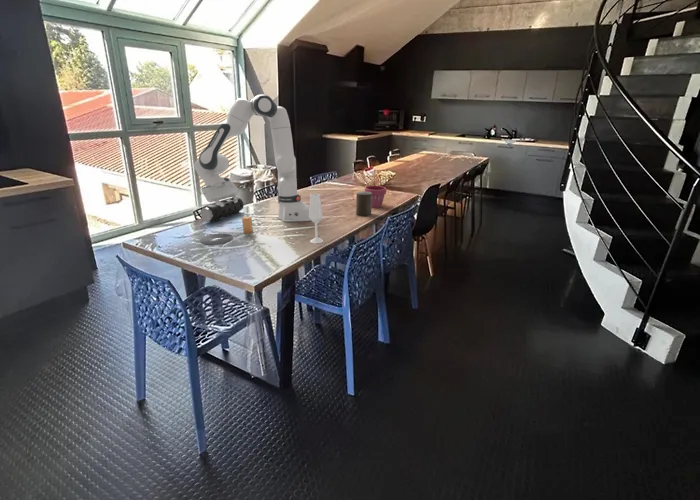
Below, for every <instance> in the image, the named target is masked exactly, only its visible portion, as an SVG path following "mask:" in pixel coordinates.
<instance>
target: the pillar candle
mask: <svg viewBox="0 0 700 500" xmlns="http://www.w3.org/2000/svg"><path fill="white" fill-rule="evenodd" d="M355 200H356V205H355V207H356V208H355V215H357V216H360V217H370V216H371V215H372V193H371V192H366V191H365V190H363V191H357V192H356V199H355Z"/></svg>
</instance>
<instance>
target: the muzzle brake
mask: <svg viewBox="0 0 700 500" xmlns="http://www.w3.org/2000/svg"><path fill="white" fill-rule="evenodd" d="M236 199H237V200H238V202H237V203H234V202H233V200H234V198H232V197H230V198H227V199H224V200H223V201H221V202H223V203H224V206H223V207H221V206H220V205H219V204H217V203H216V202H215V203H213V204H208V205H205V206H203V208H202V209H201V210H200V216H201V218H202V220H203V221H204V222H207V223H213V222H218V221H220V219H222V218H225V217H226V218H227V217H231V216H232V215H235V214H238V213H240V211H243V209H244V202H243V200H242V198H240V197H239V196H238V197H237V196H236Z"/></svg>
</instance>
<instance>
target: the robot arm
mask: <svg viewBox="0 0 700 500" xmlns="http://www.w3.org/2000/svg"><path fill="white" fill-rule="evenodd" d="M253 116H257V117H258V116H259V117H266V118H267V119H268V121H269V125H270V131H271V139H272V145H273V155H274V162H275V167H276V169H277V187H278V195H277V201H278V213H277V214H278V215H277V219H279V220H280V221H283V222H310V221H311V220H310V218H309V206H310V205H308V204H307V203H305V202H303V201H302V199H301V198H302V194H300V195H299V193H298V188H297V187H298V186H297V185H298V184H297V183H298V182H297V180H298V179H297V159H296V156H295V153H294V151H295V150H294V143H293V135H292V129H291V123H290V118H289V114H288V112H287V109H286V108H285V107H283V106H280V105H279V106H278V105H277V104H276V103H275V102H274V100H273V99H272V98H271V96H270V95H267V94H261V93H260V94H257V95H255V96H254V97H252V98H251V99H250V100H248V99H246V98H244V97H243V98H242V97H239V98H237V99H236V100H235V101H234V103H233V104H232V107H230V109H229V112H228V113H227V116H226V118H225V119H224V121H222V123H221V124H220V125H219V126H218V128H216V130H215V132H214V133H213V136H212V137H211V139H210V141H209V142H208V144H207V146H206V147H205V148H204V149H202V151H201V152H200V154H199V156H198V159H196V161H195V162H194V166H193V167H194V170H195V172H196V173H197V175H198V177H199V178H200V179H201V180H202V181H203V183H204V185H205V186H202V187H201V188H200V190H201V192H202V194H203V196H204V197H205V199H206V201H207V202H209V203H213V202H215V204H216V203H217V204H219V205H220V206H221V207H223V206H224V203H223V202H222V201H221V200H227V199H231V198H234V200H233V202H234V203H237V202H239V201H238V200H237V199H236V197H237V196H238V195H239V192H240V189H239V188H238V187H237V186H236V185H235V183H234V182H232V180H231V178H230V177H224V176H220V175H221V174H223V173H224V172H226V171H227V170H228V168H229V166H230V161H229V158H228V157H227V156H226V155H223V154H221V153H219V152H220V150H221V149H222V147H223V145H224V144H225V142H226V140H228V139H229V138H231V137H237V136H241V135H242V134H243V133H244V132H245V130H246V129H247V126H248V124H249V123H250V121H251V118H252V117H253Z"/></svg>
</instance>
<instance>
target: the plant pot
mask: <svg viewBox="0 0 700 500" xmlns="http://www.w3.org/2000/svg"><path fill="white" fill-rule="evenodd" d="M364 191H366V192H371V193H372V208H373V209H379V208H380V209H381V207H382V206H383V204H384V203H383V202H384V198H385V195H386V194H387V188H386V187H385V186H382V185H367V186H365V187H364Z"/></svg>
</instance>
